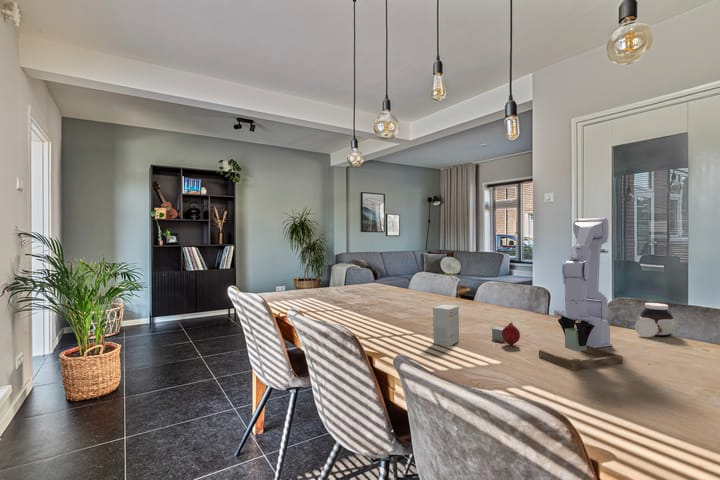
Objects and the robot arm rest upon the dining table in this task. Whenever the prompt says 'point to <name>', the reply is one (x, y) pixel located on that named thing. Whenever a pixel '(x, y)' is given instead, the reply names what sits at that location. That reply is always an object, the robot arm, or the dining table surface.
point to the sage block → (572, 340)
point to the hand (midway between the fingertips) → (576, 343)
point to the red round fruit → (511, 334)
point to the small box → (446, 324)
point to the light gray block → (497, 333)
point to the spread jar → (655, 321)
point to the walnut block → (604, 359)
